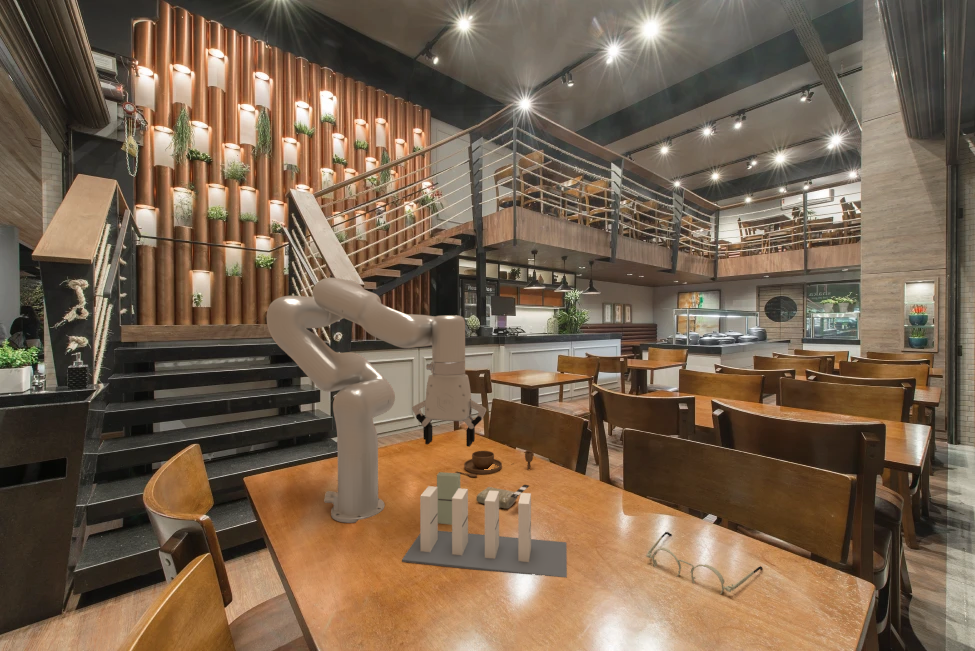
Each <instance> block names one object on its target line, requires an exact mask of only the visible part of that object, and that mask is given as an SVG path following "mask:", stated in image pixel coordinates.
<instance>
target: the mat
mask: <svg viewBox="0 0 975 651" xmlns="http://www.w3.org/2000/svg"><path fill="white" fill-rule="evenodd" d="M567 548H568V547H567V542H566V541H555V540H547V539H546V540H545V539H536V538H535V539H532V538H531V552H530V559H529V562H522V561H518V537H514V536H513V537H512V536H511V537H509V536H500V535H499V547H498V551H497V554H496V557H495V559H493V558H485V534H479V533H469V532H468V543H467V546H466V548H465V550H464V552H463V555H453V554H452V531H444V530H438V540H437V541H436V543H435V545H434V547H433V548H432V550H431V552H424V551H421V542H420V533H419V534H418V535H417V537H416V538H415V540H414V542H412V544H411V545H410V547H409V548H408V550H407V552H406V553H405V555H404V556H403V558H402V559H401V562H402V563H409V564H419V565H426V566H427V565H428V566H436V567H439V566H440V567H446V568H456V569H466V570H474V571H485V572H495V573H496V572H498V573H510V574H521V575H531V576H533V575H532V574H535V575H534V576H542V575H545V576H546V577H557V578H568V573H567V572H568V571H567V569H568V567H567V566H568V565H567V562H568V561H567V554H568V552H567ZM545 576H544V577H545Z"/></svg>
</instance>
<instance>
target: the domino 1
mask: <svg viewBox="0 0 975 651" xmlns="http://www.w3.org/2000/svg"><path fill="white" fill-rule="evenodd" d="M419 498H420V502H419V505H420V507H419V508H420V509H419V511H420V512H419V513H420V524H419V525H420V533H419V534H420V542H421V551H424V552H431V550H432V548H433V547H434V545H435V543H436V541H437V540H438V531H439V530H438V529H439V528H438V526H439V523H438V487H437V486H430V485H428V486H427V487H426V489H424V491H423V492H422V493H421V495H420V497H419Z"/></svg>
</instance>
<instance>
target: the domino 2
mask: <svg viewBox="0 0 975 651" xmlns="http://www.w3.org/2000/svg"><path fill="white" fill-rule="evenodd" d="M451 532H452V554H453V555H463V552H464V550H465V548H466V546H467V543H468V533H469V490H468V488H461V487H460V488H458V490H457V491H456V493H455V494H454V496H453V498H452V525H451Z"/></svg>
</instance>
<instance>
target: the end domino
mask: <svg viewBox="0 0 975 651" xmlns="http://www.w3.org/2000/svg"><path fill="white" fill-rule="evenodd" d="M436 487H438V525H439V524H442V525H451V526H452V498H453V496H454V494H455V493H456V491H457V490H458V488H461V473H457V472H443V471H441V472H438V473H437V474H436Z"/></svg>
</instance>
